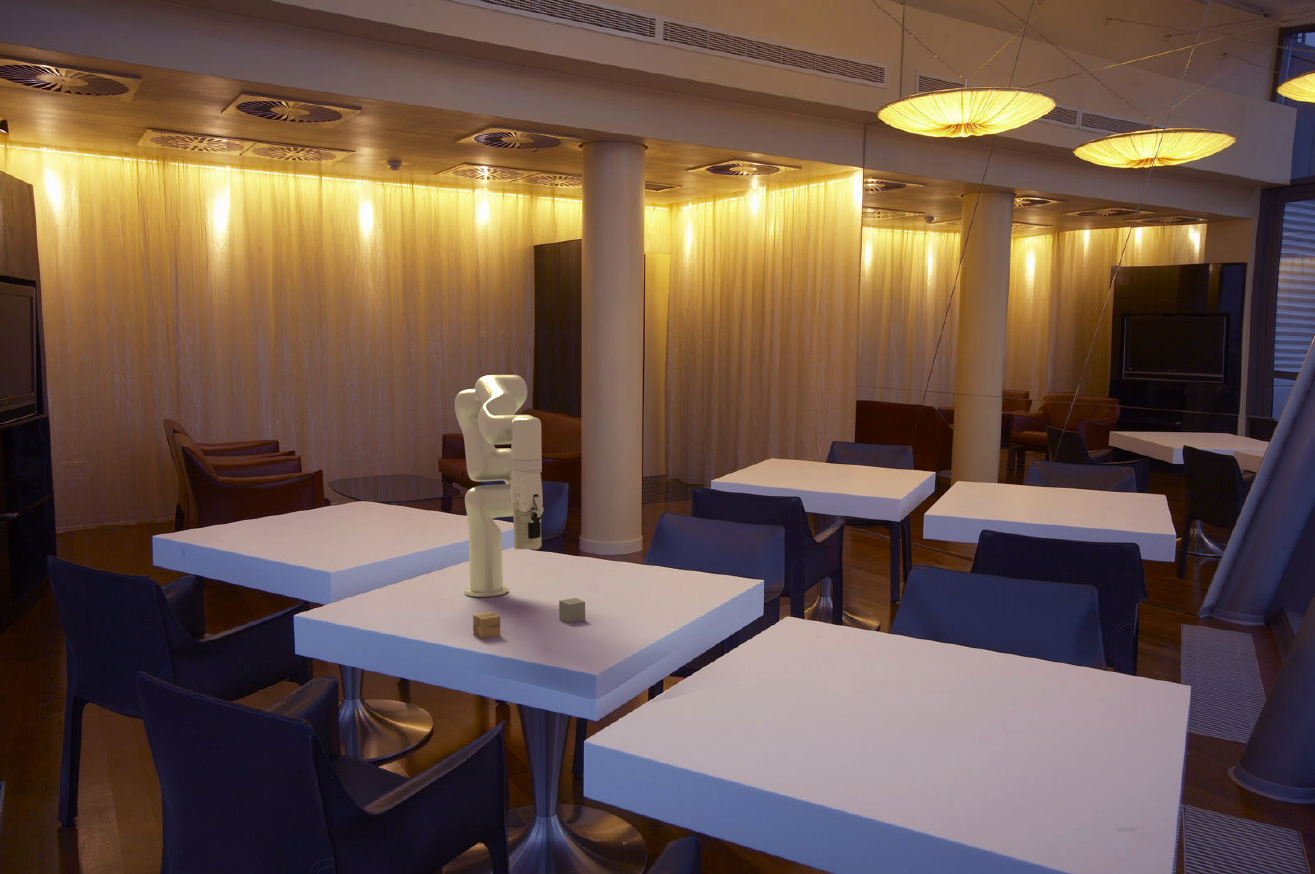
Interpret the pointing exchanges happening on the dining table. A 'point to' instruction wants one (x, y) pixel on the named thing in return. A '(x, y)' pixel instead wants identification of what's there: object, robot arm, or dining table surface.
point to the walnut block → (486, 625)
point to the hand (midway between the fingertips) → (527, 535)
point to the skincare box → (523, 530)
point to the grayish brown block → (572, 610)
